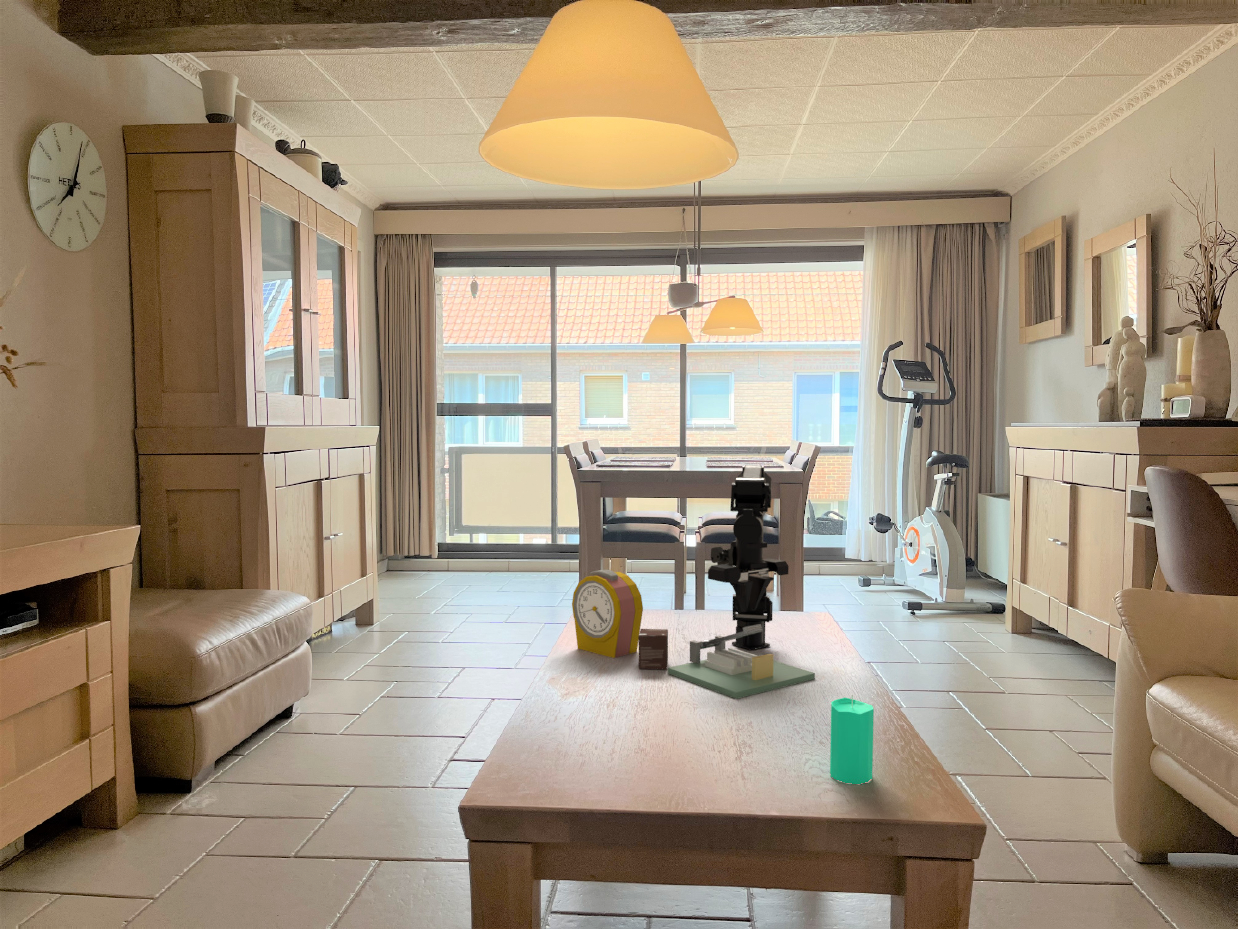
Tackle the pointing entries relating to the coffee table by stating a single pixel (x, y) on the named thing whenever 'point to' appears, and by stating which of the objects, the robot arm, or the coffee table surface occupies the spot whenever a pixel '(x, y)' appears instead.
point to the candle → (851, 741)
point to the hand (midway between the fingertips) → (748, 610)
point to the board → (738, 671)
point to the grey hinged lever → (731, 636)
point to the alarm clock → (607, 613)
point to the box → (653, 649)
